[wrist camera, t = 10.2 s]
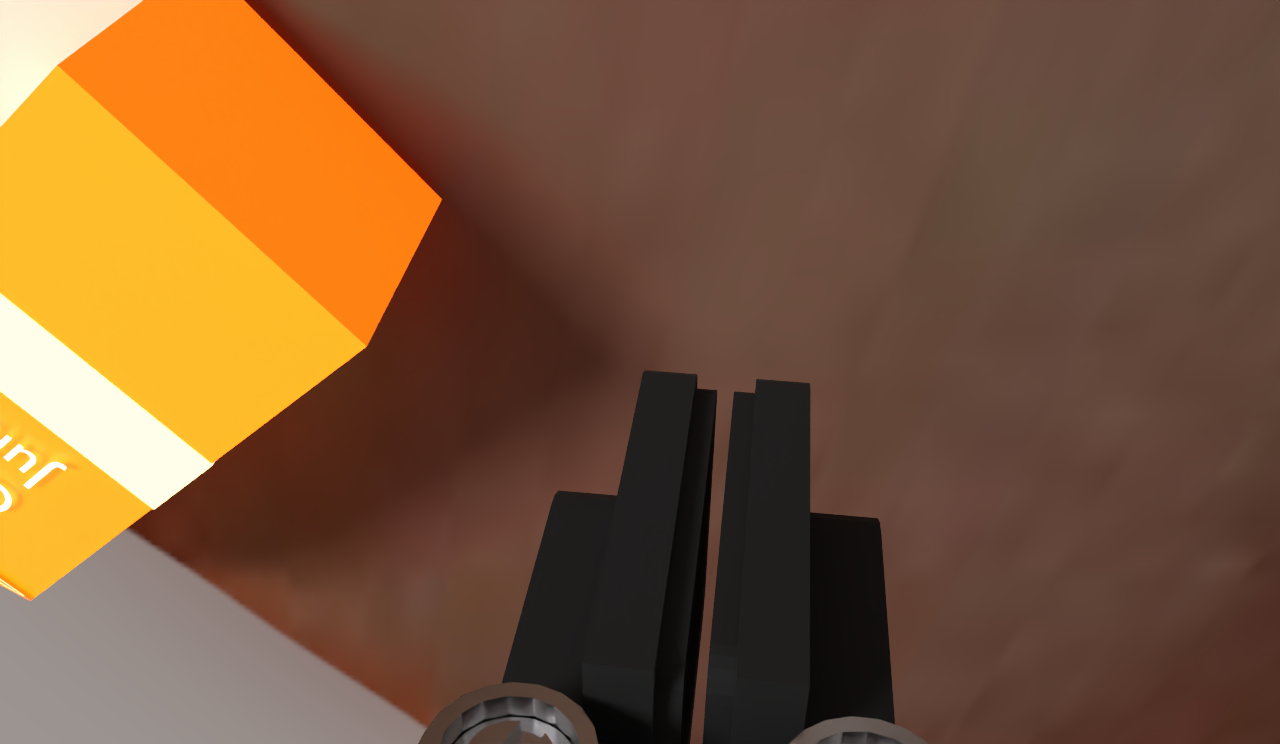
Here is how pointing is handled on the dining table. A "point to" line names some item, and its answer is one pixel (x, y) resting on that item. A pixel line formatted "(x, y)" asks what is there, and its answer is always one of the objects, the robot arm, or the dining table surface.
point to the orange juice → (176, 266)
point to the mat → (45, 40)
